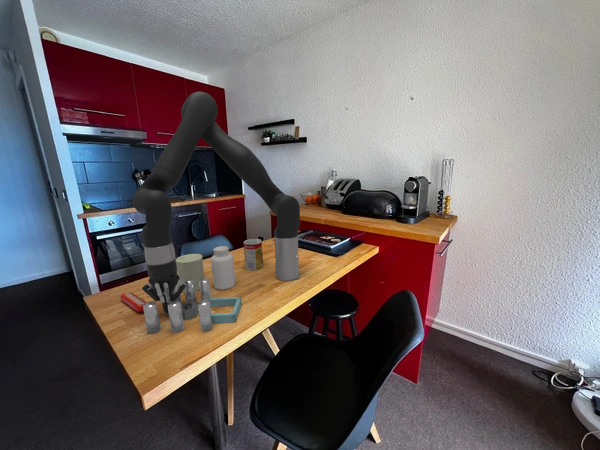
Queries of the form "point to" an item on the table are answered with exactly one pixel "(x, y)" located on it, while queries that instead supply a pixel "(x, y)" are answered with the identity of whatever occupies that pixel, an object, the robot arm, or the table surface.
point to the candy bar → (133, 301)
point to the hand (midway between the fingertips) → (169, 312)
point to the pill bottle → (222, 268)
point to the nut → (189, 310)
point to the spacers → (176, 309)
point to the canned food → (253, 254)
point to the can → (190, 268)
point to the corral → (226, 316)
